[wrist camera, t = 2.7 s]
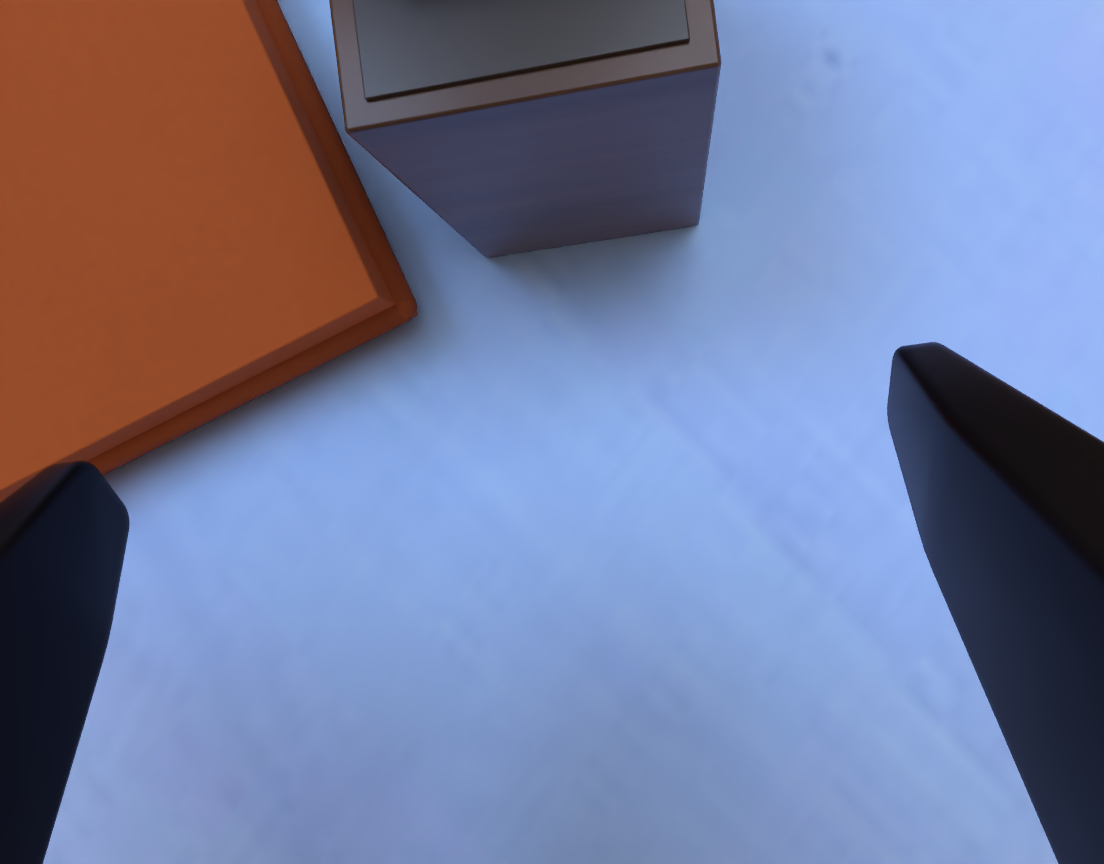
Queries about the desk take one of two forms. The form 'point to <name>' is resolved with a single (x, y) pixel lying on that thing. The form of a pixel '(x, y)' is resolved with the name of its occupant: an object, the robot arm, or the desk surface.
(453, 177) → the remote caddy
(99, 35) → the flat square box
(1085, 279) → the desk surface
